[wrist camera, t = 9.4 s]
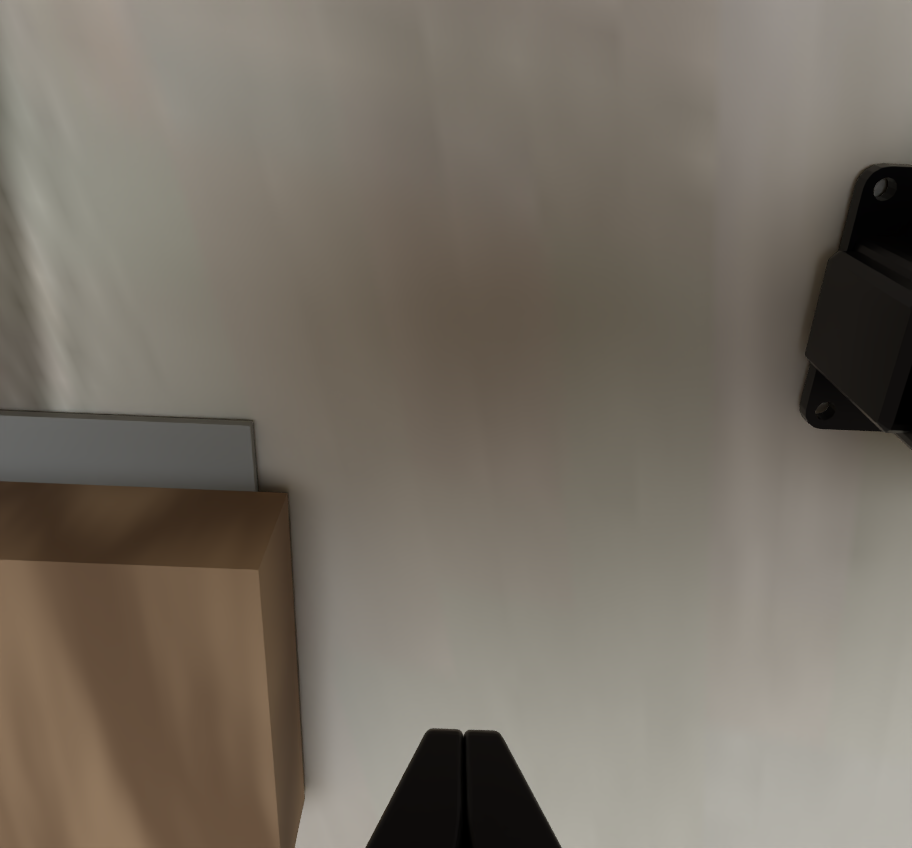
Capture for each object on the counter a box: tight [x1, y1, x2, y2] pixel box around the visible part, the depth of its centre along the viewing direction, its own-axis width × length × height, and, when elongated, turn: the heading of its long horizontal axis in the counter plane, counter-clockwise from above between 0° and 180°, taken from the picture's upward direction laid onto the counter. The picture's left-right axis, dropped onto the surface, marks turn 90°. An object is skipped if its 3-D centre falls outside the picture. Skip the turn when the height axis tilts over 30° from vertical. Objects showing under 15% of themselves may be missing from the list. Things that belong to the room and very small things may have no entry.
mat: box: [0, 410, 258, 492], centre depth 25 cm, size 11×16×1 cm
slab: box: [0, 481, 305, 848], centre depth 23 cm, size 4×12×9 cm
